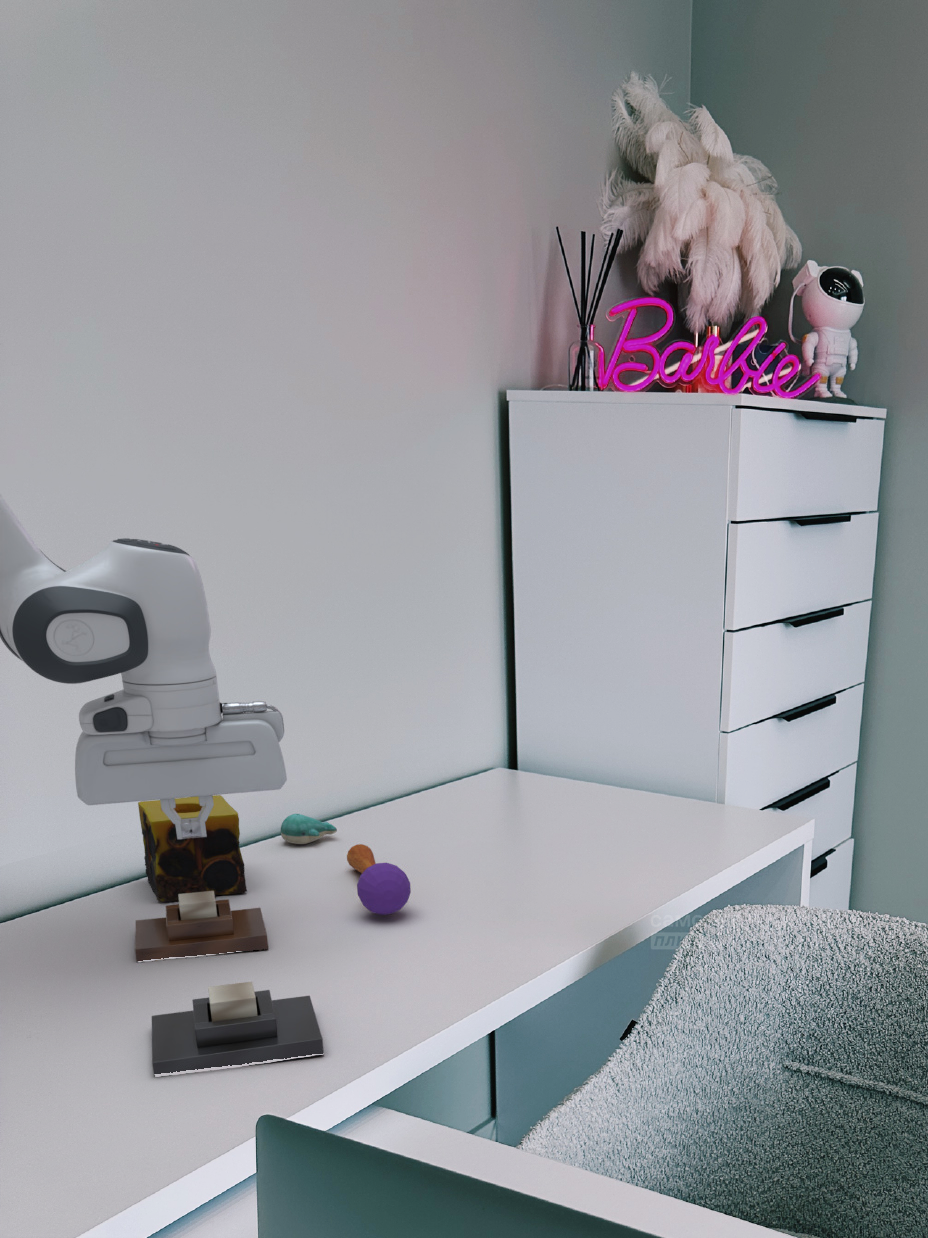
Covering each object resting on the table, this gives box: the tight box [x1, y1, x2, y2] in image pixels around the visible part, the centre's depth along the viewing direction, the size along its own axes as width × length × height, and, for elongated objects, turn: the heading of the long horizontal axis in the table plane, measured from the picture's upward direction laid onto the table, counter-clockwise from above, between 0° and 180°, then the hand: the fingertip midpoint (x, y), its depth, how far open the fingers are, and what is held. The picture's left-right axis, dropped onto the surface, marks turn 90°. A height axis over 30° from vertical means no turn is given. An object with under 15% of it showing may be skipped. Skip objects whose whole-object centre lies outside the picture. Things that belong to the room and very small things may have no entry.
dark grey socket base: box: [151, 989, 325, 1075], centre depth 113 cm, size 14×10×4 cm
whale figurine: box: [280, 813, 338, 845], centre depth 171 cm, size 6×7×4 cm
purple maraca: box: [346, 843, 412, 916], centre depth 151 cm, size 6×6×20 cm
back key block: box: [134, 898, 269, 962], centre depth 135 cm, size 13×9×4 cm
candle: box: [137, 794, 248, 903], centre depth 150 cm, size 10×10×10 cm
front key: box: [207, 981, 258, 1022], centre depth 112 cm, size 4×4×2 cm
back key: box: [178, 891, 217, 920], centre depth 134 cm, size 4×4×2 cm
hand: (192, 836), depth 132 cm, fingers closed
